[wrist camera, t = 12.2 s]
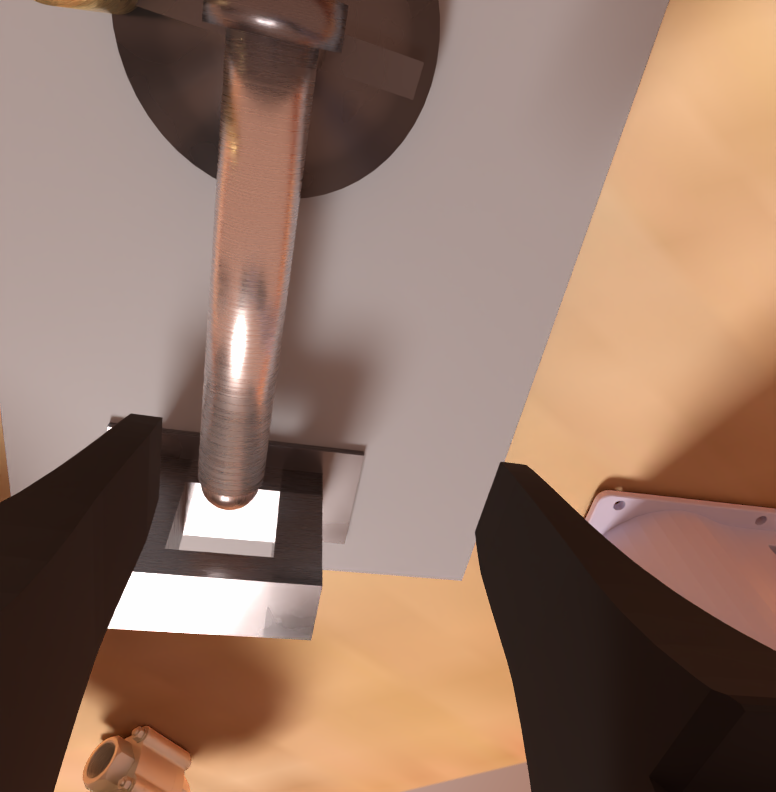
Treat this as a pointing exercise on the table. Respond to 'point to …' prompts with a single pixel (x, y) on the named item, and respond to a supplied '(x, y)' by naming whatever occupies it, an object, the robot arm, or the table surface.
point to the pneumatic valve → (137, 764)
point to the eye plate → (258, 521)
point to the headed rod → (255, 225)
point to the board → (314, 263)
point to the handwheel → (333, 92)
